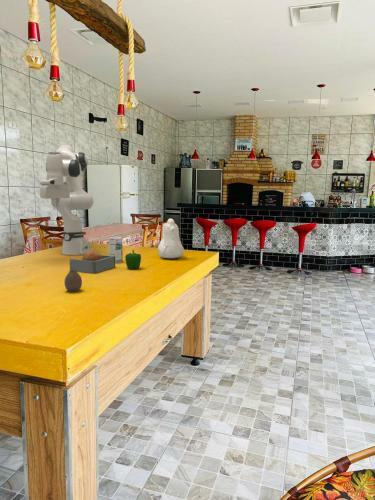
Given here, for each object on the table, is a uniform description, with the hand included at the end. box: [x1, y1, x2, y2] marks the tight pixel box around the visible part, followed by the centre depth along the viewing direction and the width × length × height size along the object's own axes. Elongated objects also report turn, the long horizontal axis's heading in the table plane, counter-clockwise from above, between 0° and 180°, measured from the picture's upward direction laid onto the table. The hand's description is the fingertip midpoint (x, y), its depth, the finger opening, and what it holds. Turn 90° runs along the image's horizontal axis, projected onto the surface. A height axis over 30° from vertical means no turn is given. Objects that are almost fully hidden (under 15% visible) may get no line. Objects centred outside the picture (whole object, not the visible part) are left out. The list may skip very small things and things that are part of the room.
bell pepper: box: [124, 249, 142, 270], centre depth 205 cm, size 8×8×10 cm
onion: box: [81, 249, 101, 261], centre depth 202 cm, size 10×10×10 cm
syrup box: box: [107, 236, 124, 264], centre depth 222 cm, size 6×6×14 cm
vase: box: [64, 269, 83, 293], centre depth 158 cm, size 7×7×9 cm
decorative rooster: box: [157, 218, 185, 259], centre depth 241 cm, size 25×16×25 cm, turn 5°
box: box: [69, 254, 116, 275], centre depth 202 cm, size 18×15×6 cm
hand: (56, 206), depth 217 cm, fingers closed
